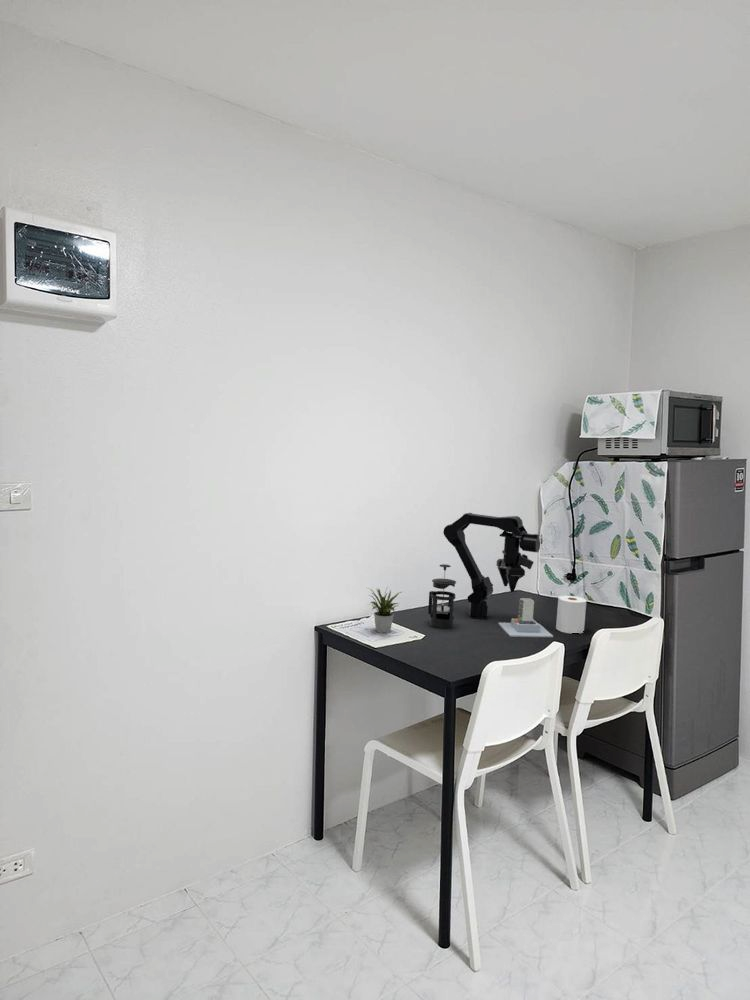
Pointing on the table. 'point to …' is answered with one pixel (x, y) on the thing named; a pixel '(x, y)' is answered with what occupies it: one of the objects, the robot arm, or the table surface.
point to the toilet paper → (571, 614)
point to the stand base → (524, 629)
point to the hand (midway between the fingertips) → (508, 589)
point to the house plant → (383, 611)
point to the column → (526, 609)
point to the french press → (439, 618)
